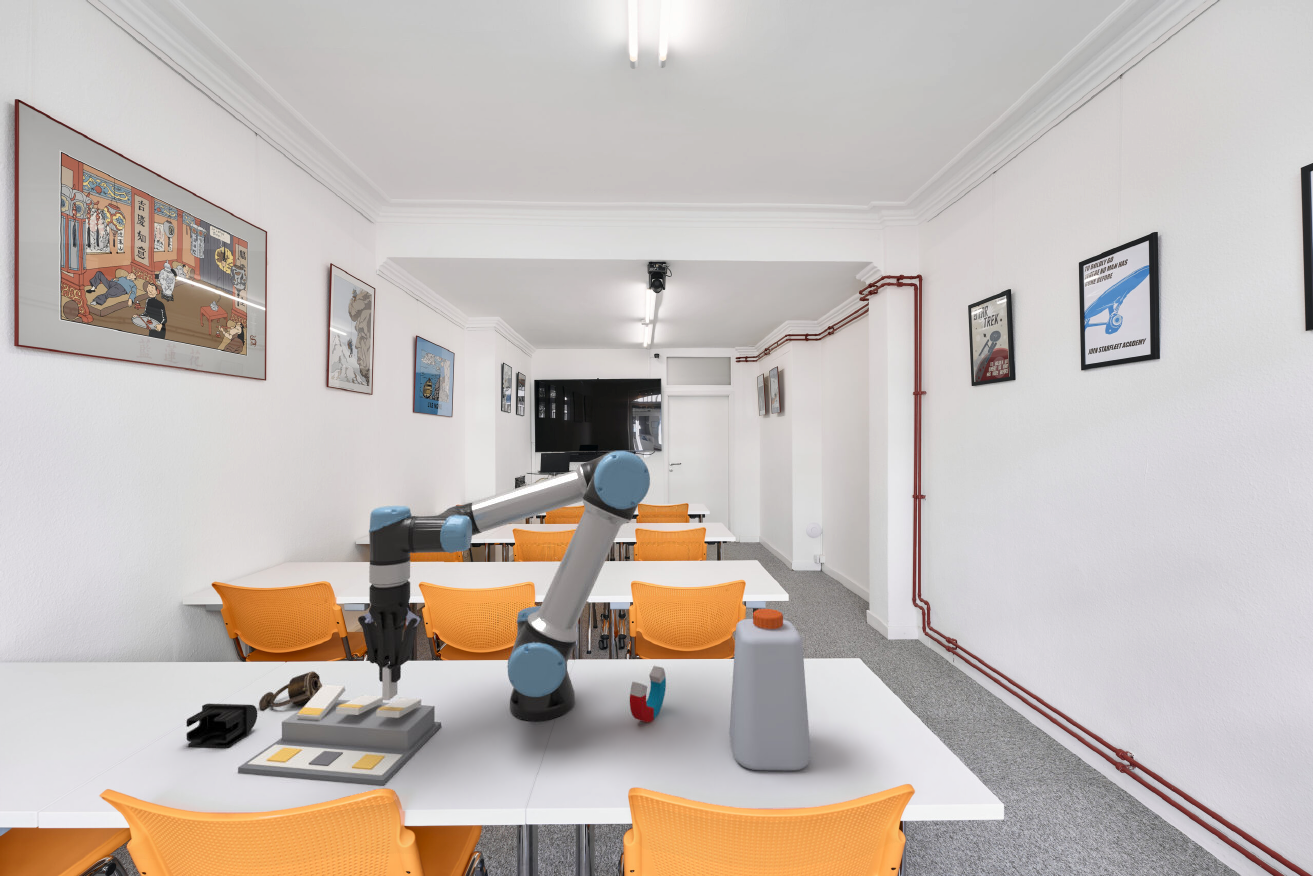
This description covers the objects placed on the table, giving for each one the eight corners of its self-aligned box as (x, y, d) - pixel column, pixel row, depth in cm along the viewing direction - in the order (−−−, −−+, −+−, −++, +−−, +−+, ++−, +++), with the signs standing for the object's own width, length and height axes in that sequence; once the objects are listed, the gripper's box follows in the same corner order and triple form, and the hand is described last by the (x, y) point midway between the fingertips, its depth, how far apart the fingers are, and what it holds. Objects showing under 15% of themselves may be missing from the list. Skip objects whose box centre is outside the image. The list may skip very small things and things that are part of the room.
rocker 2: (420, 705, 115) (421, 698, 116) (398, 717, 107) (399, 710, 108) (399, 703, 116) (400, 697, 116) (375, 716, 108) (376, 709, 108)
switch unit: (441, 726, 117) (441, 704, 117) (383, 785, 97) (383, 758, 97) (317, 717, 121) (317, 695, 121) (237, 772, 101) (237, 746, 101)
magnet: (656, 705, 126) (656, 663, 126) (666, 708, 125) (666, 666, 125) (629, 729, 116) (629, 683, 116) (640, 732, 114) (639, 686, 114)
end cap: (258, 730, 116) (258, 699, 116) (230, 749, 109) (230, 716, 109) (214, 729, 117) (214, 698, 117) (184, 747, 109) (184, 715, 109)
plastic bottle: (727, 729, 116) (726, 601, 116) (797, 730, 115) (796, 601, 115) (735, 773, 101) (735, 625, 101) (815, 774, 100) (815, 626, 100)
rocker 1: (345, 690, 118) (344, 685, 117) (319, 720, 110) (318, 715, 110) (325, 689, 118) (323, 684, 118) (298, 719, 111) (296, 714, 110)
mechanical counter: (299, 693, 121) (331, 666, 131) (249, 685, 123) (284, 658, 132) (302, 720, 123) (333, 691, 133) (252, 712, 125) (286, 683, 134)
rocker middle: (382, 702, 116) (383, 696, 117) (357, 715, 109) (358, 707, 109) (361, 701, 117) (362, 694, 117) (335, 713, 109) (336, 706, 110)
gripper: (429, 578, 112) (429, 690, 112) (373, 576, 113) (372, 686, 113) (408, 588, 104) (408, 708, 104) (348, 586, 106) (348, 704, 106)
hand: (389, 696), depth 109 cm, fingers closed
